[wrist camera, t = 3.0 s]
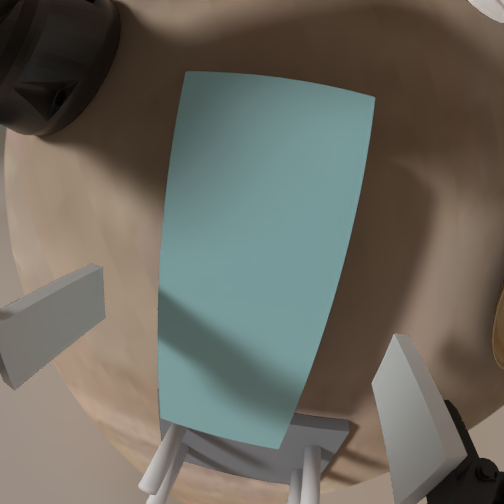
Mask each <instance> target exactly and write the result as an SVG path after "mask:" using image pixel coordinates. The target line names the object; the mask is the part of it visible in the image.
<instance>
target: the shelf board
mask: <svg viewBox="0 0 504 504" xmlns="http://www.w3.org/2000/svg"><path fill="white" fill-rule="evenodd" d="M374 105H375V97H373V96H369V95H365V94H362V93H358V92H354V91H350V90H345V89H341V88H337V87H332V86H327V85H322V84H317V83H312V82H306V81H300V80H294V79H287V78H280V77H272V76H264V75H254V74H242V73H228V72H202V71H186V73H185V78H184V82H183V87H182V92H181V97H180V102H179V108H178V113H177V119H176V124H175V130H174V136H173V143H172V149H171V156H170V163H169V171H168V179H167V187H166V196H165V205H164V215H163V226H162V238H161V252H160V269H159V292H158V378H159V400H160V416H161V418H162V419H164V420H167V421H170V422H173V423H176V424H179V425H182V426H185V427H188V428H191V429H194V430H198V431H201V432H205V433H208V434H212V435H215V436H219V437H223V438H227V439H231V440H235V441H239V442H244V443H248V444H253V445H258V446H263V447H268V448H274V449H279V447H280V445H281V443H282V440H283V438H284V436H285V433H286V431H287V429H288V426H289V424H290V422H291V419H292V417H293V414H294V412H295V409H296V407H297V404H298V402H299V399H300V397H301V394H302V392H303V389H304V386H305V384H306V381H307V378H308V376H309V373H310V370H311V367H312V364H313V362H314V359H315V356H316V353H317V350H318V347H319V344H320V341H321V338H322V335H323V332H324V329H325V326H326V323H327V320H328V316H329V313H330V310H331V306H332V303H333V300H334V296H335V293H336V289H337V286H338V282H339V279H340V275H341V271H342V268H343V264H344V260H345V256H346V252H347V248H348V244H349V240H350V236H351V232H352V228H353V223H354V219H355V215H356V210H357V205H358V201H359V196H360V191H361V186H362V181H363V176H364V170H365V165H366V159H367V153H368V147H369V141H370V134H371V127H372V120H373V113H374Z"/></svg>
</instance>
